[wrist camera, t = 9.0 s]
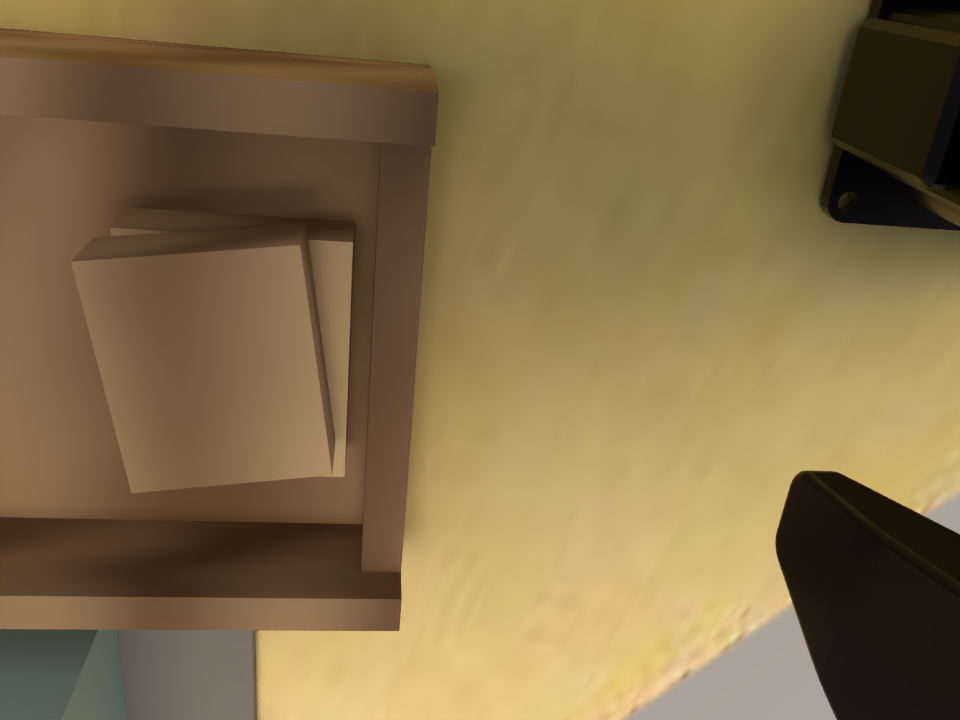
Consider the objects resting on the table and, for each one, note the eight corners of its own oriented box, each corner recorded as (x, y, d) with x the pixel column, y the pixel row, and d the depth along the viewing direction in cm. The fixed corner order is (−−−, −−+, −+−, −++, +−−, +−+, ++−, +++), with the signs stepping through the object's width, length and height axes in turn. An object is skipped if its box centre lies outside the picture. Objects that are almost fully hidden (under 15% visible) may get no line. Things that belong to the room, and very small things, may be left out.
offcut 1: (305, 222, 19) (300, 245, 17) (335, 440, 21) (332, 475, 20) (93, 237, 18) (70, 261, 17) (147, 456, 21) (131, 493, 20)
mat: (253, 552, 25) (250, 566, 24) (257, 775, 29) (255, 791, 28) (-130, 547, 24) (-143, 561, 23) (-73, 781, 27) (-82, 798, 27)
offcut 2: (354, 221, 20) (353, 242, 19) (346, 444, 23) (344, 477, 22) (128, 207, 20) (110, 227, 18) (146, 438, 22) (131, 471, 21)
